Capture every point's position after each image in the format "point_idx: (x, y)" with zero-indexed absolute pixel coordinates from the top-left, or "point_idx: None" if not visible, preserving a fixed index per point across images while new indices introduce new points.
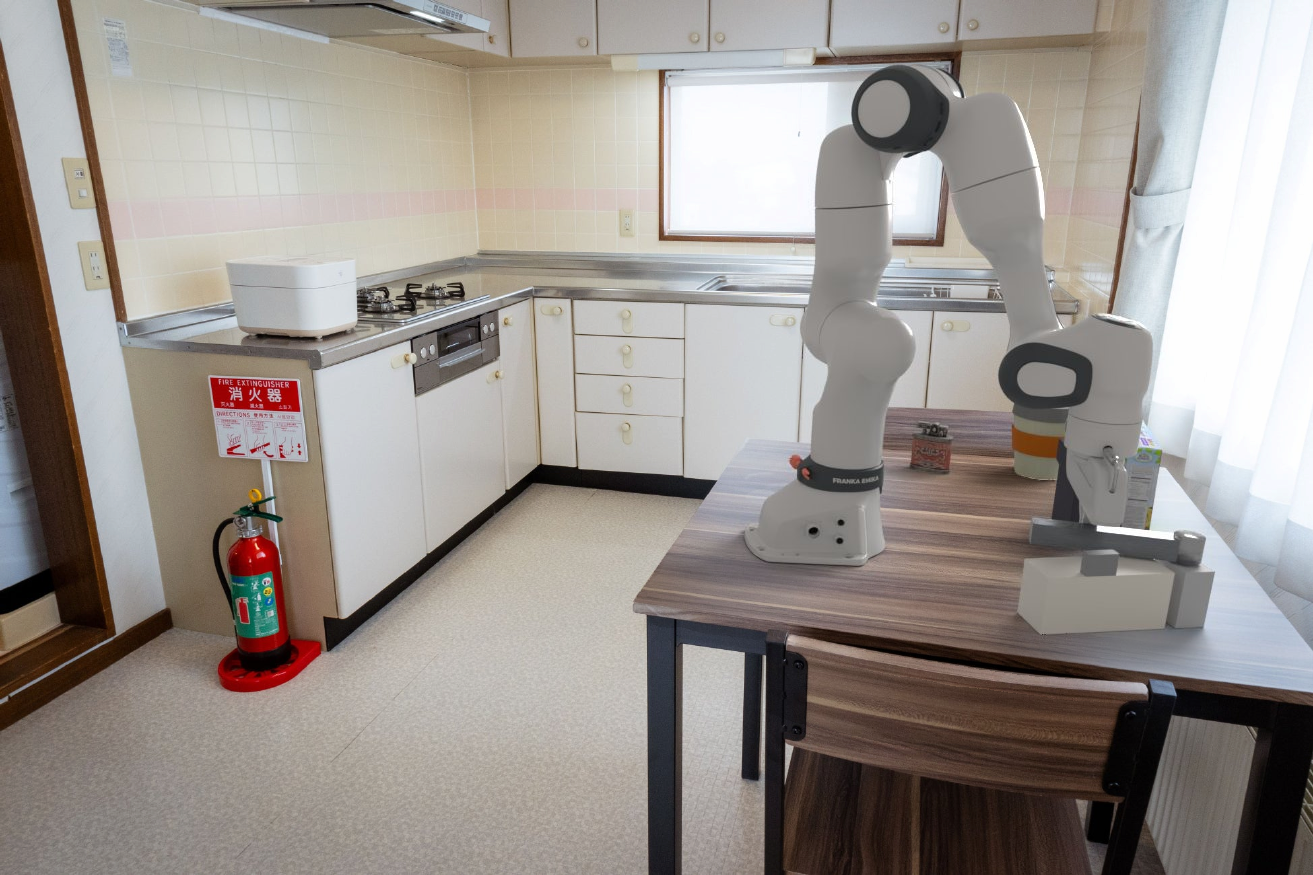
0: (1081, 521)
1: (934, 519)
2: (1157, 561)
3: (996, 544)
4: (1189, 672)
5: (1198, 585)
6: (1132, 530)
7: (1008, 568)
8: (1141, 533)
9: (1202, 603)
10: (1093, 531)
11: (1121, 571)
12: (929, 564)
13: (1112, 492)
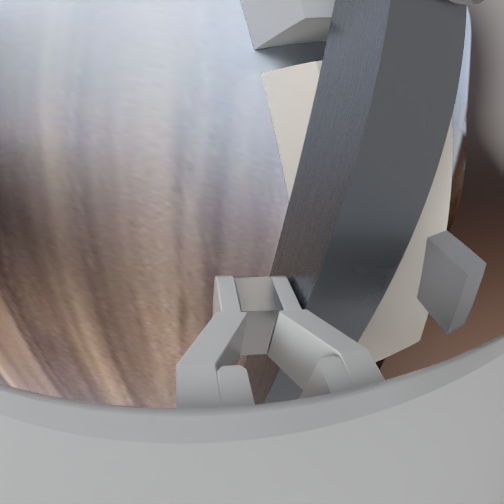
0: (260, 350)
1: (3, 354)
2: (312, 22)
3: (27, 296)
4: (458, 109)
5: None
6: (385, 155)
7: (120, 294)
8: (420, 126)
9: None
10: (366, 319)
11: (434, 208)
12: (158, 379)
13: (471, 449)
